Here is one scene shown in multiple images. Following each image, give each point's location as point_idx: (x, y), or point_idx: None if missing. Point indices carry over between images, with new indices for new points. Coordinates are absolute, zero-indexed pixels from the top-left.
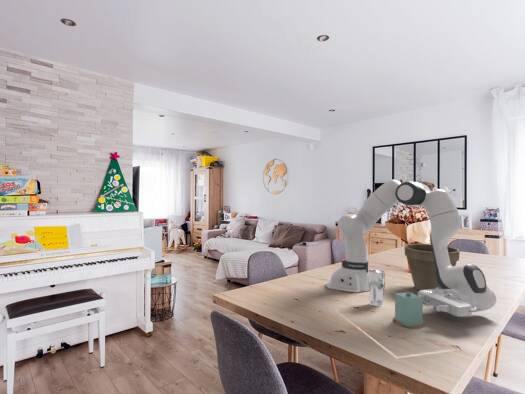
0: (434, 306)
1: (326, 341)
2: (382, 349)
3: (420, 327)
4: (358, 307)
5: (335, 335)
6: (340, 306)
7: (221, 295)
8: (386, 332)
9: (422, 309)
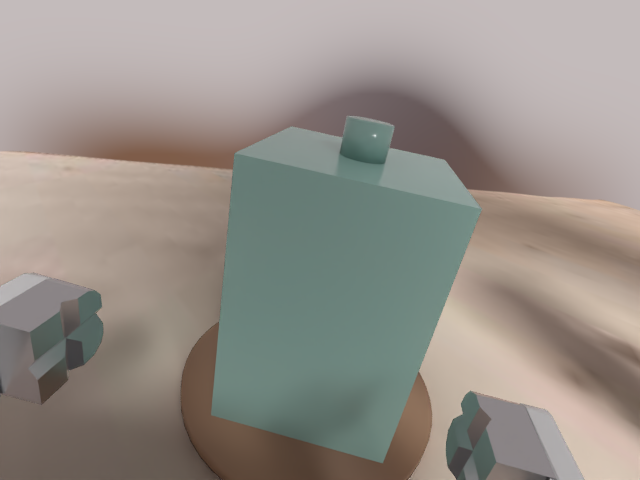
0: (85, 293)
1: None
2: (205, 191)
3: (198, 363)
4: (634, 361)
5: None
6: (618, 311)
7: (616, 204)
8: None
9: (223, 288)
